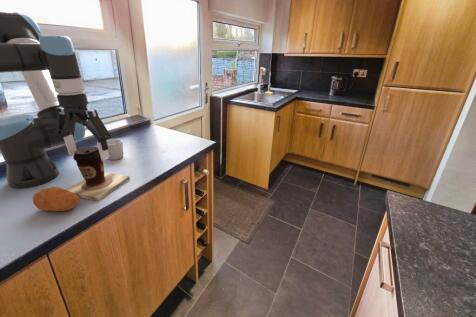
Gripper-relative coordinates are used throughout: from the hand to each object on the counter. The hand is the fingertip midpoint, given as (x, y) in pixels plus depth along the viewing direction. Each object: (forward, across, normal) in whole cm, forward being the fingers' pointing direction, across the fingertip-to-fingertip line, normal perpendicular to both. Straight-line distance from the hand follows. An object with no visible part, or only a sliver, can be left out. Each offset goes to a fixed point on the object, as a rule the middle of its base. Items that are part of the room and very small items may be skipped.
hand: (89, 156), depth 80 cm
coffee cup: (+11, 0, 0) cm, 11 cm away
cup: (+12, -12, +22) cm, 28 cm away
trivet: (+12, 0, 0) cm, 12 cm away
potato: (+12, 0, -14) cm, 19 cm away
